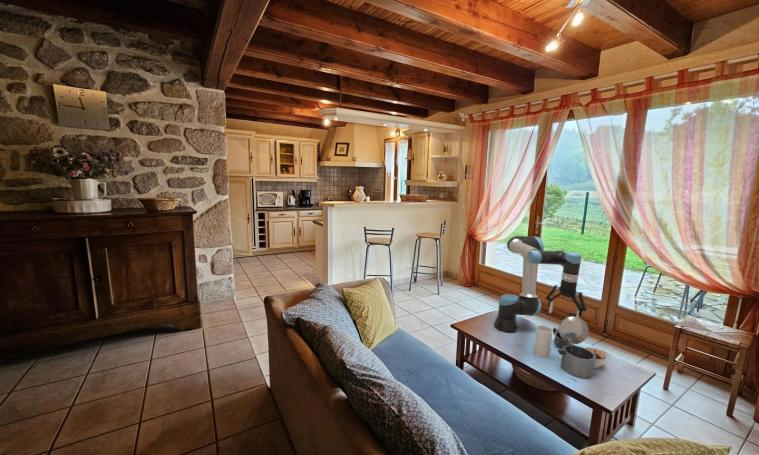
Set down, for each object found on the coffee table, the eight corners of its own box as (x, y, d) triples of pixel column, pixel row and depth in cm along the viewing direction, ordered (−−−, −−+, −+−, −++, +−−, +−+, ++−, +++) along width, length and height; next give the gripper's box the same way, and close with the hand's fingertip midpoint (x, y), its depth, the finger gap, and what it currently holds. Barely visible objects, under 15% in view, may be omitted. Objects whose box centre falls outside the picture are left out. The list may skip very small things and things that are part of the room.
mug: (563, 351, 195) (565, 336, 194) (545, 341, 207) (547, 327, 205) (573, 349, 199) (576, 334, 198) (555, 339, 211) (557, 325, 209)
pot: (550, 358, 187) (552, 342, 185) (588, 363, 184) (591, 346, 183) (562, 375, 171) (565, 357, 169) (603, 380, 169) (607, 362, 167)
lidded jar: (577, 361, 186) (579, 346, 184) (589, 358, 190) (591, 343, 188) (595, 372, 176) (598, 356, 174) (608, 368, 180) (610, 352, 179)
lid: (558, 342, 184) (557, 341, 185) (587, 345, 182) (586, 344, 183) (560, 312, 184) (559, 311, 185) (589, 315, 182) (588, 314, 183)
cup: (551, 358, 188) (554, 332, 185) (536, 356, 189) (539, 330, 187) (546, 350, 196) (550, 326, 193) (532, 348, 197) (535, 324, 195)
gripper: (542, 275, 181) (537, 310, 185) (593, 288, 163) (586, 327, 167) (547, 273, 186) (542, 307, 190) (597, 285, 168) (591, 323, 172)
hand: (563, 316), depth 178 cm, fingers open, 13 cm apart
